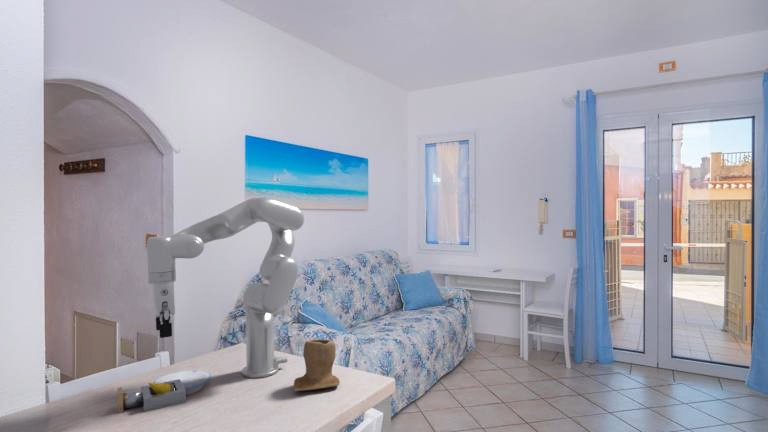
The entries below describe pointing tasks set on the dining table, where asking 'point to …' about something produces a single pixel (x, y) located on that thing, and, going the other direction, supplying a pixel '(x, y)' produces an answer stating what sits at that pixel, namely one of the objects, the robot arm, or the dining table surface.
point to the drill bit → (162, 387)
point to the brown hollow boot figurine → (317, 366)
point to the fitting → (151, 397)
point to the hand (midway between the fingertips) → (163, 333)
